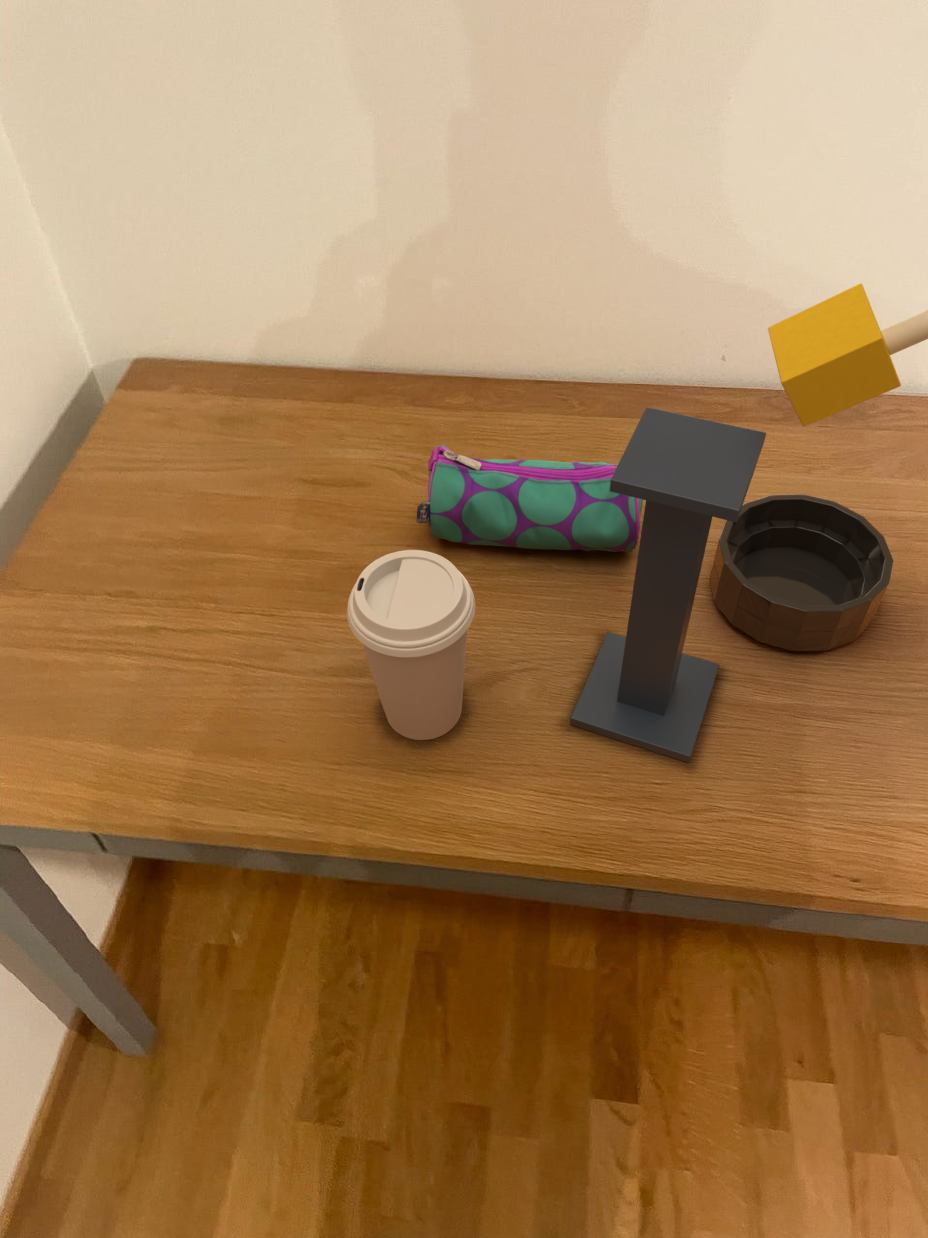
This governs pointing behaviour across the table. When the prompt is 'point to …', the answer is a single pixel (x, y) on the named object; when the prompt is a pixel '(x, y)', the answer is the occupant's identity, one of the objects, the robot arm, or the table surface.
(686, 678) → the stand
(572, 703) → the table surface
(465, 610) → the coffee cup
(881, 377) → the sponge wand
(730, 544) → the bowl
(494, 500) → the pencil case
